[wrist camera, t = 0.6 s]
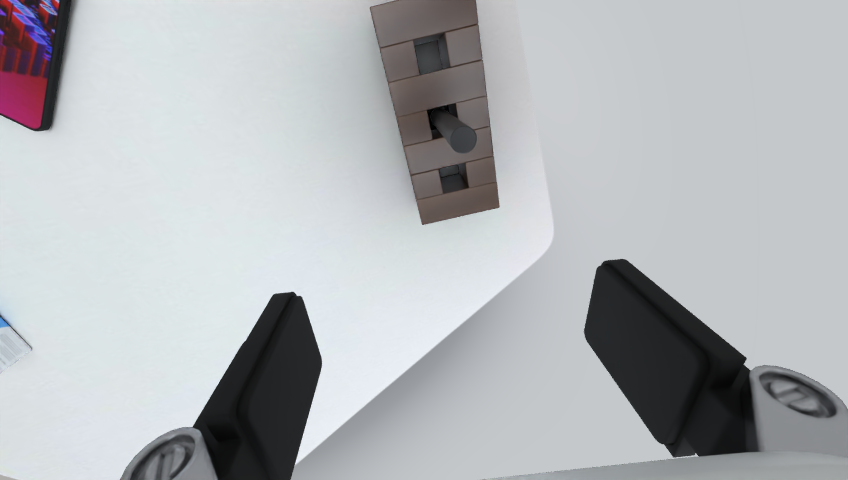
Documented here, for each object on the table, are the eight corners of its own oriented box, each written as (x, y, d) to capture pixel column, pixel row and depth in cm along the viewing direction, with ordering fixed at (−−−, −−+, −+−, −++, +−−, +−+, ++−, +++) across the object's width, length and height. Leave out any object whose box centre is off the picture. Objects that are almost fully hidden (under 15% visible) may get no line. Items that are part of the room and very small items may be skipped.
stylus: (428, 109, 30) (448, 129, 17) (443, 105, 30) (475, 123, 17) (431, 125, 30) (452, 156, 18) (446, 121, 30) (478, 150, 18)
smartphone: (-72, 81, 26) (-69, -138, 20) (-57, 81, 26) (-51, -130, 21) (43, 136, 28) (71, -48, 23) (53, 134, 29) (83, -44, 23)
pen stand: (374, 19, 26) (369, 6, 22) (461, -3, 26) (473, -20, 22) (419, 206, 34) (422, 225, 29) (486, 190, 34) (499, 207, 29)
